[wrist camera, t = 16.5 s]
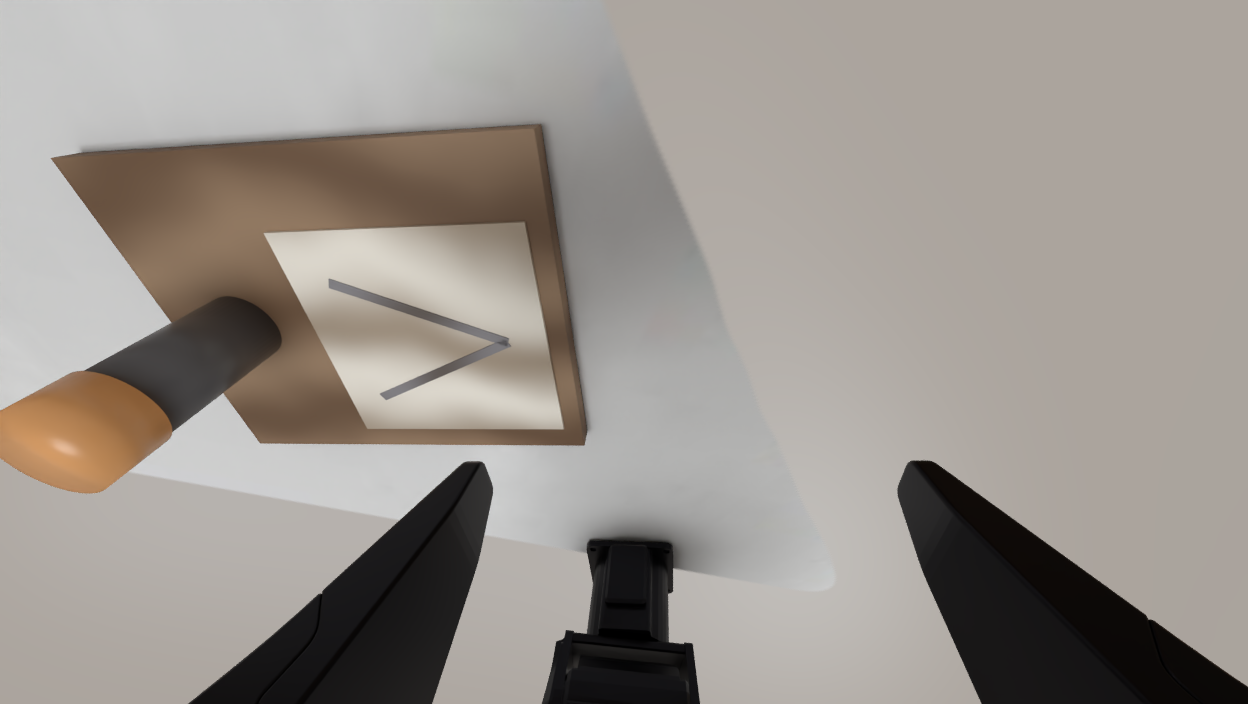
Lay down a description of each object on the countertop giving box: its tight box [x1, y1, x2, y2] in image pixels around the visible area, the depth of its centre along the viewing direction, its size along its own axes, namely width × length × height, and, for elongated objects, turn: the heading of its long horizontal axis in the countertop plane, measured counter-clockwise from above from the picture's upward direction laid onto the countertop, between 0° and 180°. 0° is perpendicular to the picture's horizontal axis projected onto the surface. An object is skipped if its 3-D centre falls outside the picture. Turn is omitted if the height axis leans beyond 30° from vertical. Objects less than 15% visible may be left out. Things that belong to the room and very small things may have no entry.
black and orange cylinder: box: [0, 296, 282, 493], centre depth 19 cm, size 4×4×9 cm
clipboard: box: [51, 124, 587, 445], centre depth 23 cm, size 17×21×2 cm
